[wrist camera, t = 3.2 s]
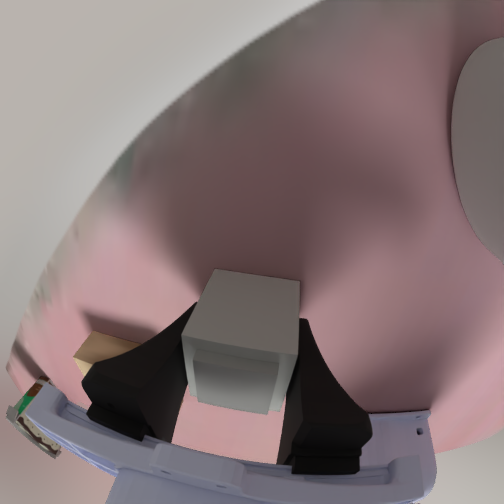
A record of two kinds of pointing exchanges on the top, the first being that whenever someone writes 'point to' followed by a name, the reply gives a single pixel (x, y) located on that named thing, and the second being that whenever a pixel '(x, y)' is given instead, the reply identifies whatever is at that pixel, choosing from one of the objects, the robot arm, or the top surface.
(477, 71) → the cylinder vase
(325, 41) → the top surface
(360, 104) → the top surface
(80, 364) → the oak block
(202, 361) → the block
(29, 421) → the food container
